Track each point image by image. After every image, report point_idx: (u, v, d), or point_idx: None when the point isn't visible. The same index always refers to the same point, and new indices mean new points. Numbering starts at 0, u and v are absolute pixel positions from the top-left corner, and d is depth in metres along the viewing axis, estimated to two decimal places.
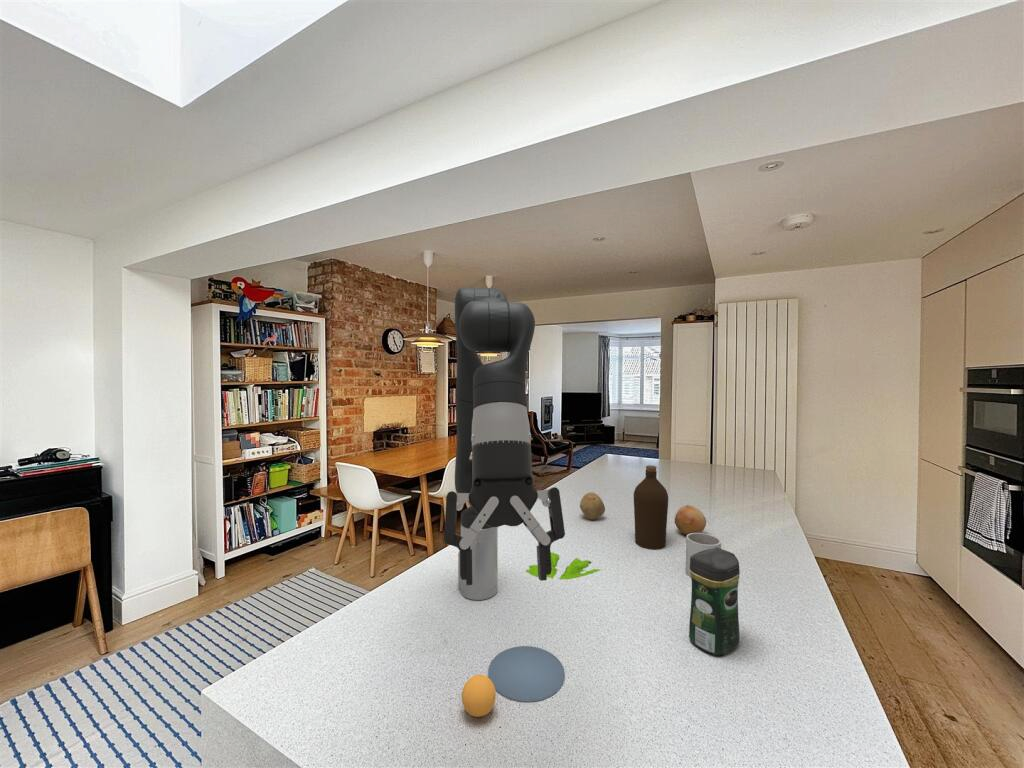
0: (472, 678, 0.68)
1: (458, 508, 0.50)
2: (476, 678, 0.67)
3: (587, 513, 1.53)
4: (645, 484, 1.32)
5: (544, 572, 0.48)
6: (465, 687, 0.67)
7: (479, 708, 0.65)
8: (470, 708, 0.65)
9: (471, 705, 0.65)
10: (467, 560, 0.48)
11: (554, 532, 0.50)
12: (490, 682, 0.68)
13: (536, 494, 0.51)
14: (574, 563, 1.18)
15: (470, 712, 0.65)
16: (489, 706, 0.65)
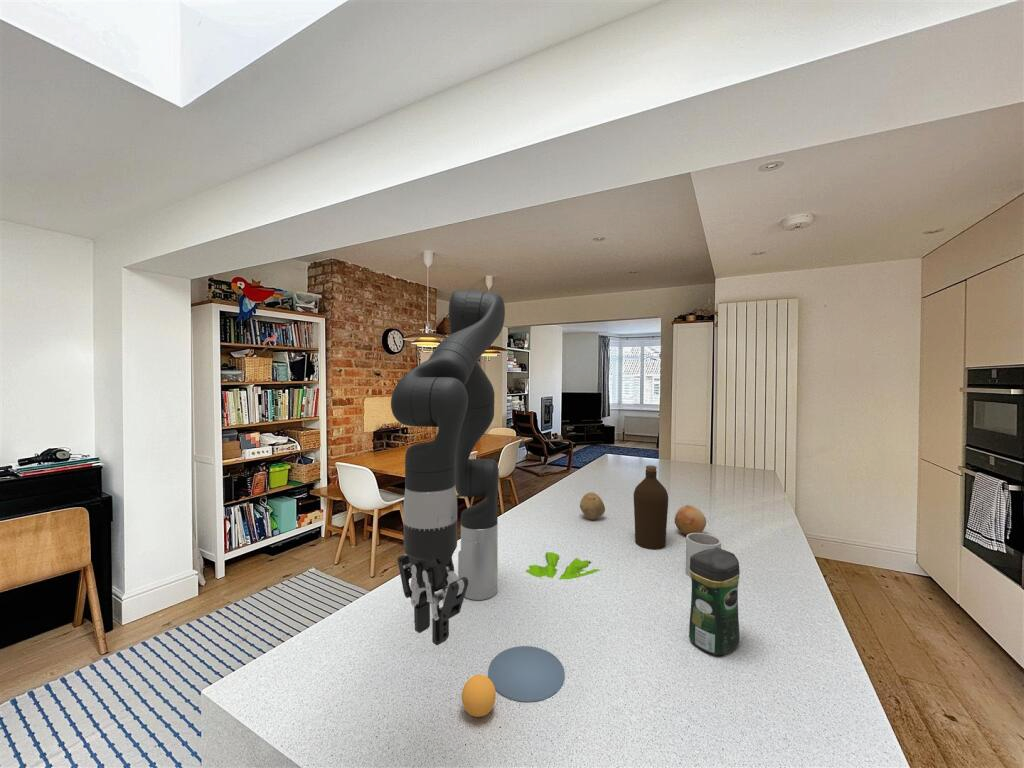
0: (472, 678, 0.68)
1: (408, 567, 0.62)
2: (476, 678, 0.67)
3: (587, 513, 1.53)
4: (645, 484, 1.32)
5: (434, 639, 0.58)
6: (465, 687, 0.67)
7: (479, 708, 0.65)
8: (470, 708, 0.65)
9: (471, 705, 0.65)
10: (415, 614, 0.60)
11: None
12: (490, 682, 0.68)
13: (443, 576, 0.56)
14: (574, 563, 1.18)
15: (470, 712, 0.65)
16: (489, 706, 0.65)
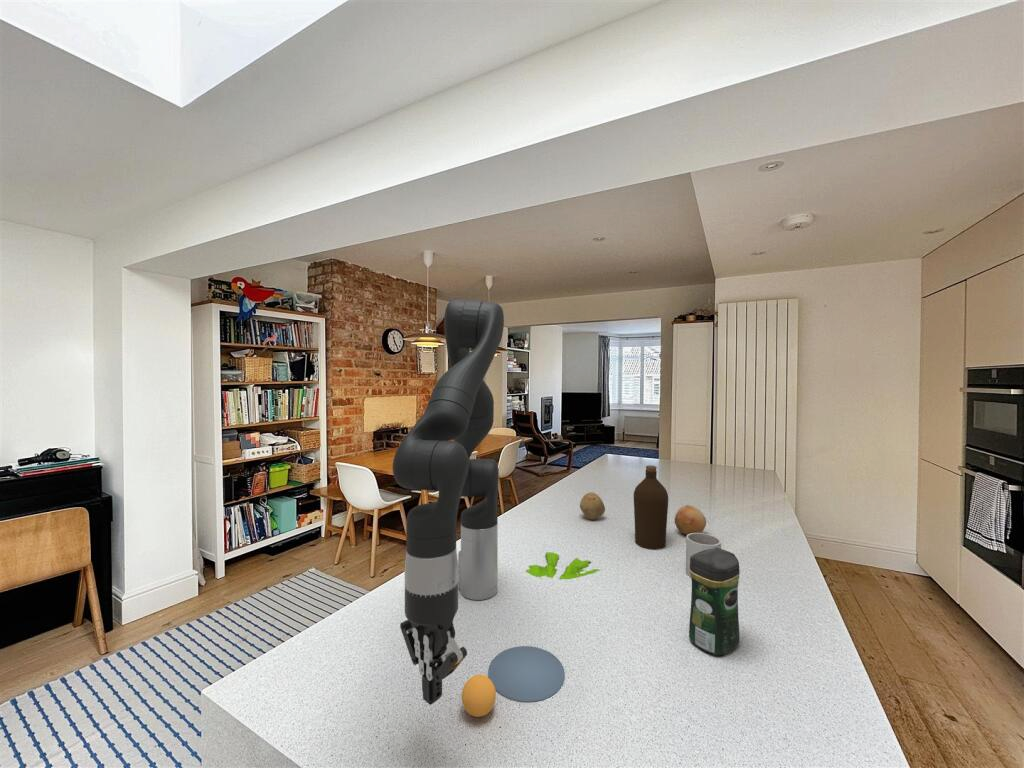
0: (472, 678, 0.68)
1: (412, 632, 0.62)
2: (476, 678, 0.67)
3: (587, 513, 1.53)
4: (645, 484, 1.32)
5: (427, 699, 0.59)
6: (465, 687, 0.67)
7: (479, 708, 0.65)
8: (470, 708, 0.65)
9: (471, 705, 0.65)
10: (423, 683, 0.59)
11: (435, 673, 0.58)
12: (490, 682, 0.68)
13: (443, 643, 0.57)
14: (574, 563, 1.18)
15: (470, 712, 0.65)
16: (489, 706, 0.65)
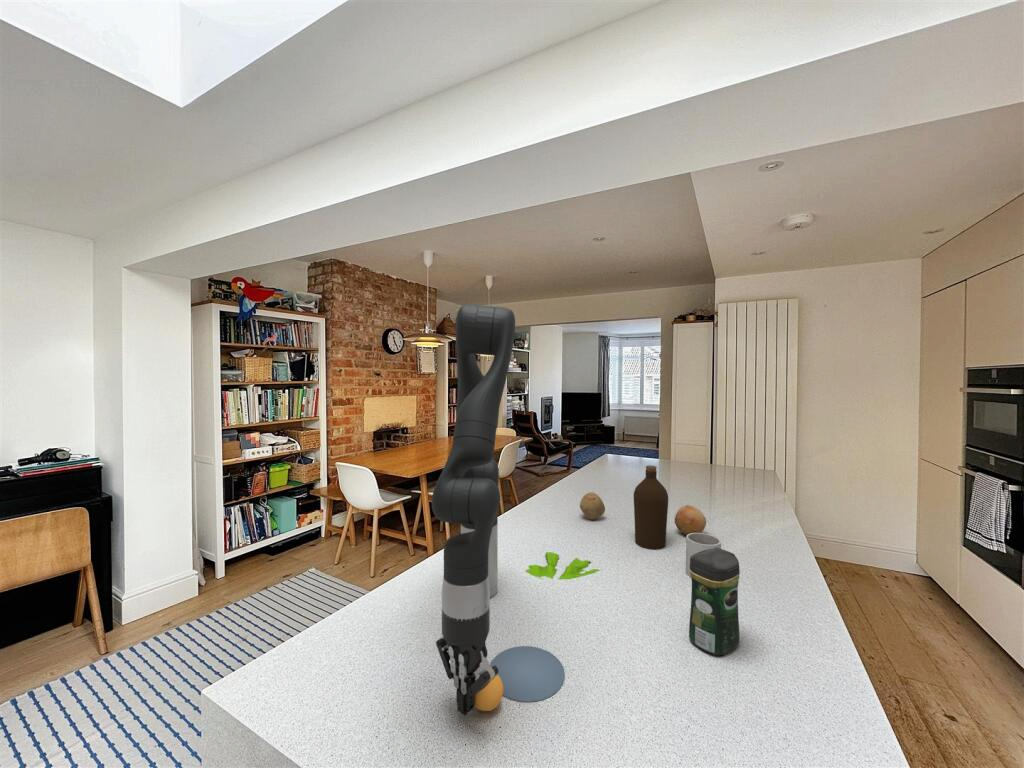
0: None
1: (447, 649, 0.69)
2: None
3: (587, 513, 1.53)
4: (645, 484, 1.32)
5: (462, 710, 0.65)
6: None
7: (488, 698, 0.66)
8: (479, 695, 0.66)
9: (481, 692, 0.66)
10: (457, 696, 0.66)
11: (469, 688, 0.64)
12: None
13: (477, 662, 0.63)
14: (574, 563, 1.18)
15: (477, 701, 0.66)
16: (496, 700, 0.66)
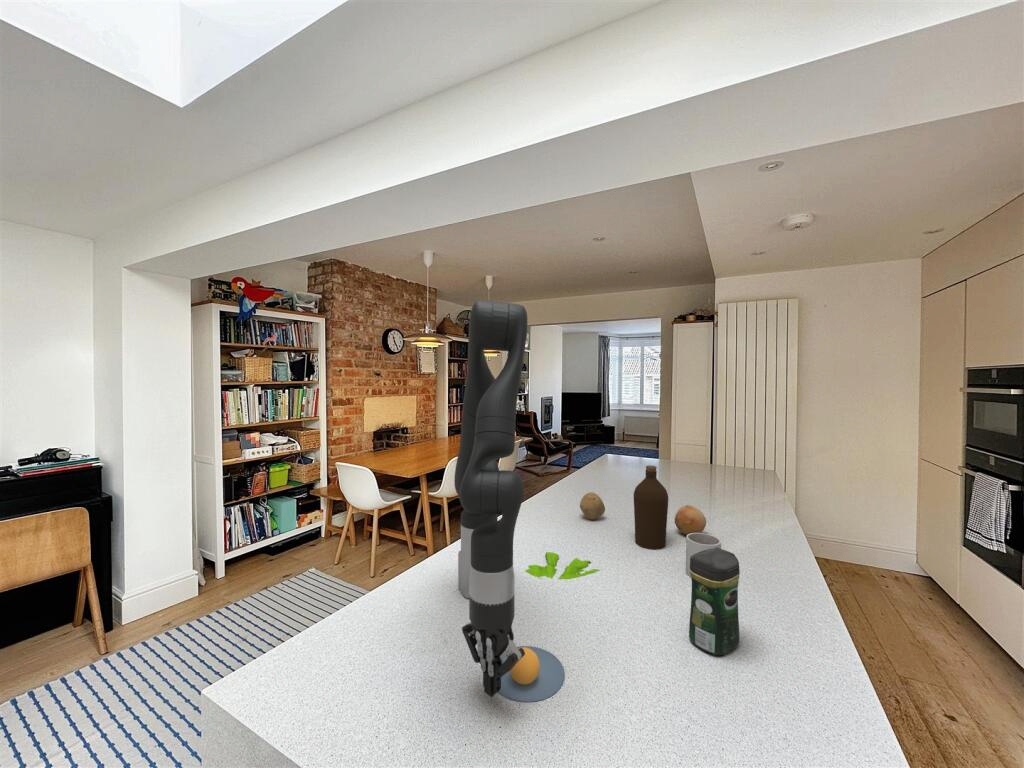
0: None
1: (473, 634, 0.72)
2: None
3: (587, 513, 1.53)
4: (645, 484, 1.32)
5: (489, 692, 0.69)
6: None
7: None
8: None
9: None
10: (485, 678, 0.69)
11: None
12: (521, 683, 0.72)
13: (505, 645, 0.66)
14: (574, 563, 1.18)
15: None
16: (535, 673, 0.72)
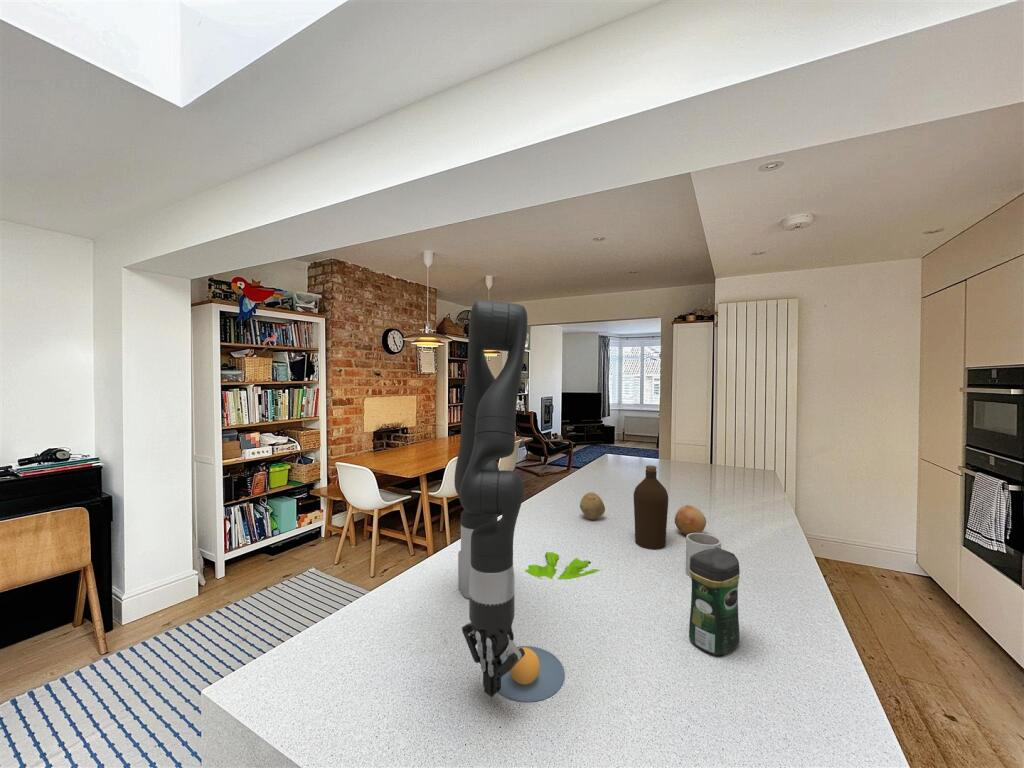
0: None
1: (473, 634, 0.72)
2: None
3: (587, 513, 1.53)
4: (645, 484, 1.32)
5: (489, 692, 0.69)
6: None
7: None
8: None
9: None
10: (485, 678, 0.69)
11: None
12: (521, 683, 0.72)
13: (505, 645, 0.66)
14: (573, 563, 1.18)
15: None
16: (535, 673, 0.72)
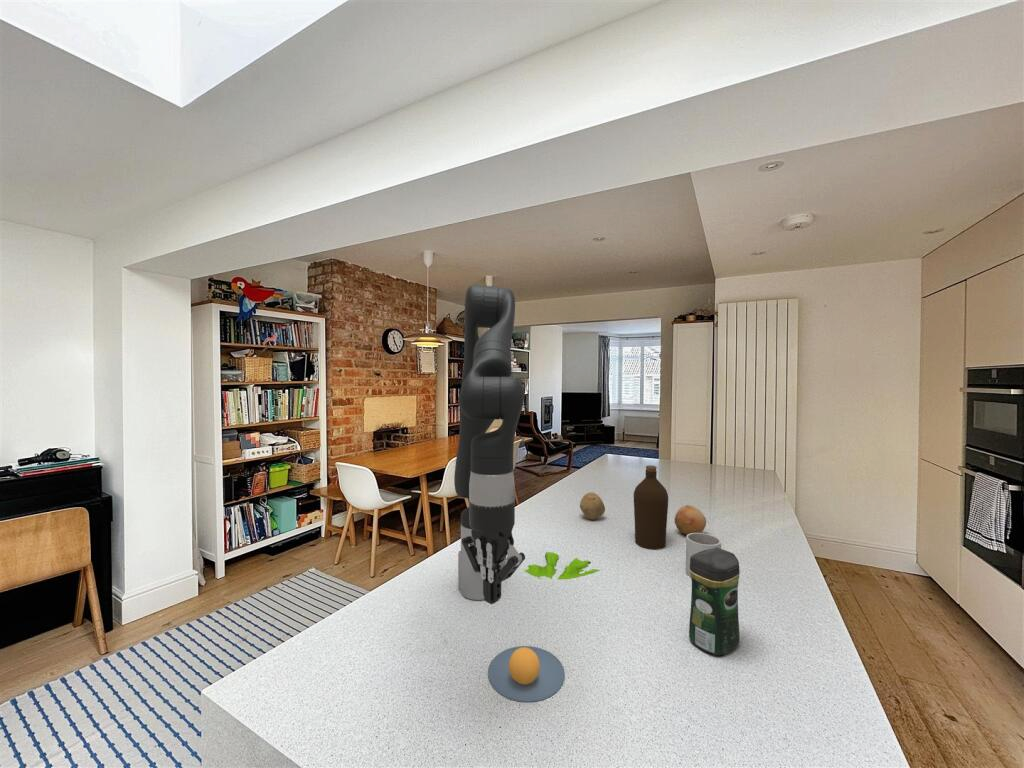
0: None
1: (473, 545, 0.71)
2: None
3: (587, 513, 1.53)
4: (645, 484, 1.32)
5: (489, 599, 0.68)
6: None
7: None
8: None
9: None
10: (485, 586, 0.69)
11: None
12: (521, 683, 0.72)
13: (505, 548, 0.66)
14: (573, 563, 1.18)
15: None
16: (535, 673, 0.72)
